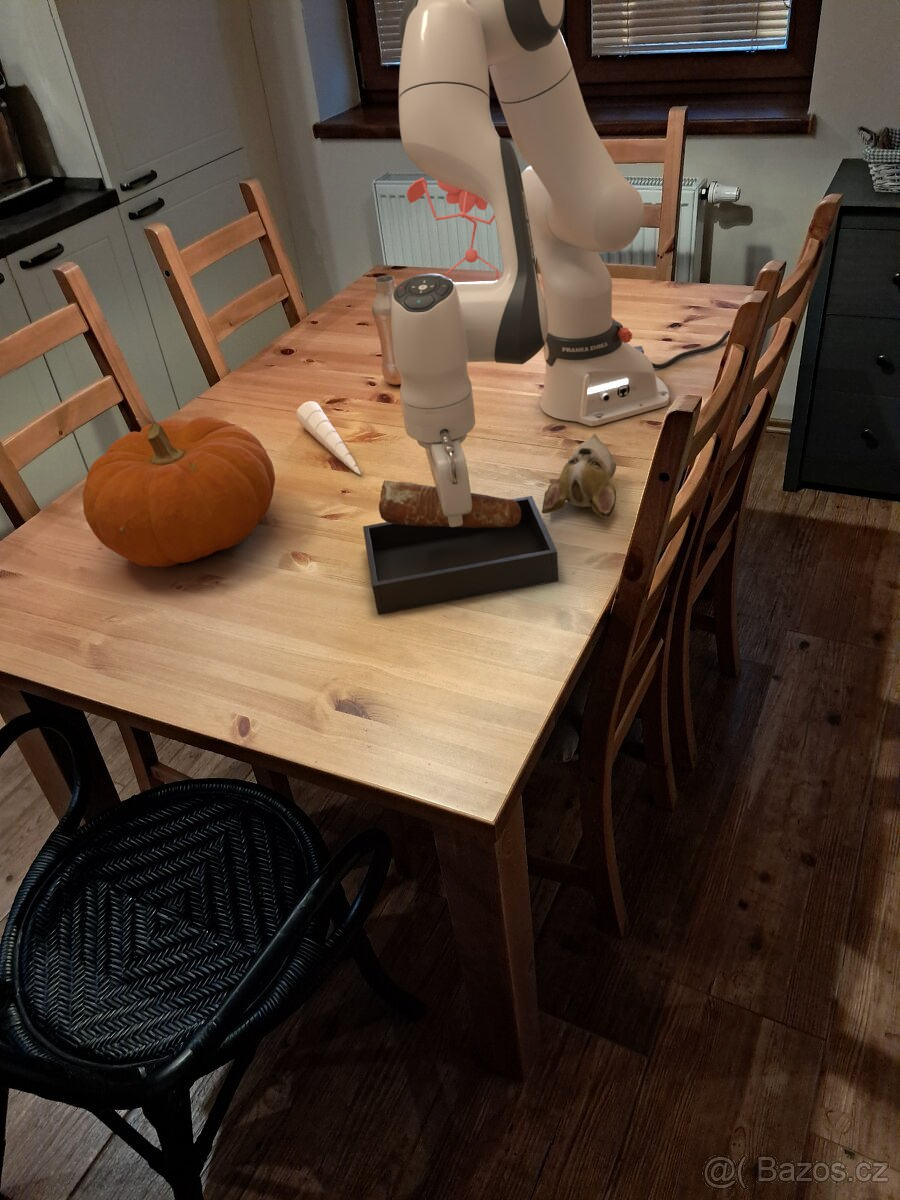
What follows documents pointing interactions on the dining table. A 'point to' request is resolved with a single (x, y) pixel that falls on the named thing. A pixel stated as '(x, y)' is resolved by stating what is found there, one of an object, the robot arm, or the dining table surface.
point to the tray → (457, 560)
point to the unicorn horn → (324, 432)
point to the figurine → (465, 205)
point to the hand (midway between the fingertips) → (450, 508)
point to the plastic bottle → (385, 326)
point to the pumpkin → (178, 491)
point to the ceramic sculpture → (585, 480)
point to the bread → (425, 509)
